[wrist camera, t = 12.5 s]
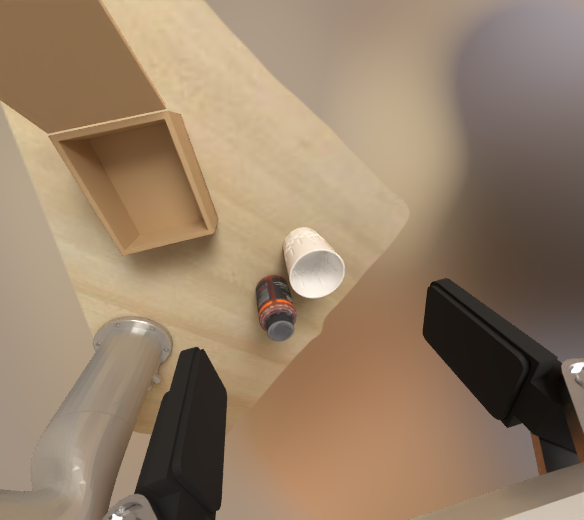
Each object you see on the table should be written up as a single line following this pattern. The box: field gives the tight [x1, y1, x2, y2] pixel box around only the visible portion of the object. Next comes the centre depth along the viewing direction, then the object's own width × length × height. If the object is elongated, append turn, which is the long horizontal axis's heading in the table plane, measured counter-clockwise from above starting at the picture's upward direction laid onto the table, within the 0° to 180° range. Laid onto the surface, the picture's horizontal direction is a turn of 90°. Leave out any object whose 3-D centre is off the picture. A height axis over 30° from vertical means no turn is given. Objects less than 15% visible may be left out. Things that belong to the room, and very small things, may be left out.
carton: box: [48, 111, 218, 256], centre depth 31 cm, size 14×12×6 cm
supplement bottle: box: [256, 276, 296, 341], centre depth 40 cm, size 6×6×11 cm
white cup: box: [283, 227, 345, 298], centre depth 38 cm, size 8×8×10 cm
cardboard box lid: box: [0, 0, 166, 133], centre depth 18 cm, size 14×12×1 cm
